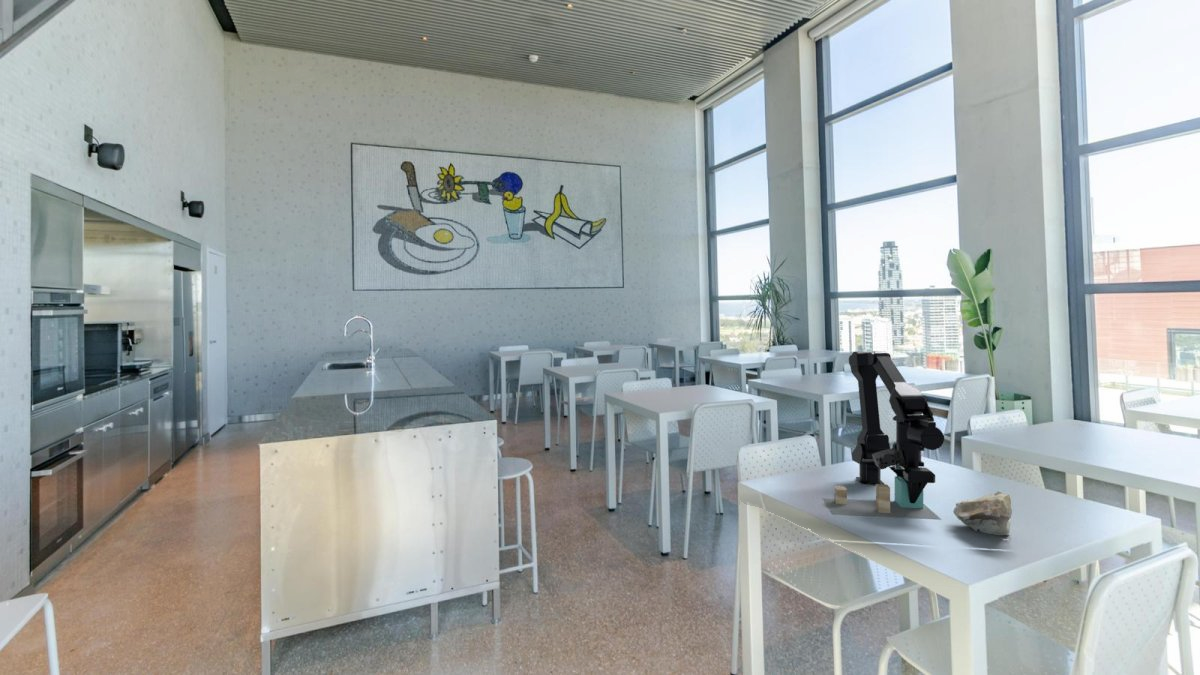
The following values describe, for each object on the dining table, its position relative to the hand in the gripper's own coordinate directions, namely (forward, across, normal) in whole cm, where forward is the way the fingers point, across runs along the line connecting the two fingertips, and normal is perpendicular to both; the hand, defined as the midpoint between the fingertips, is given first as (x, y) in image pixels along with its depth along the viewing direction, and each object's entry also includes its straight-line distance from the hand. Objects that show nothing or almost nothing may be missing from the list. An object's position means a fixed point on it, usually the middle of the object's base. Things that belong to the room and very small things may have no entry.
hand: (908, 499), depth 143 cm
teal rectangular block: (+1, 0, 0) cm, 1 cm away
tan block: (+1, +1, -17) cm, 17 cm away
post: (+1, +6, -8) cm, 10 cm away
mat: (+2, +4, -8) cm, 10 cm away
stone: (+2, +16, +10) cm, 19 cm away
